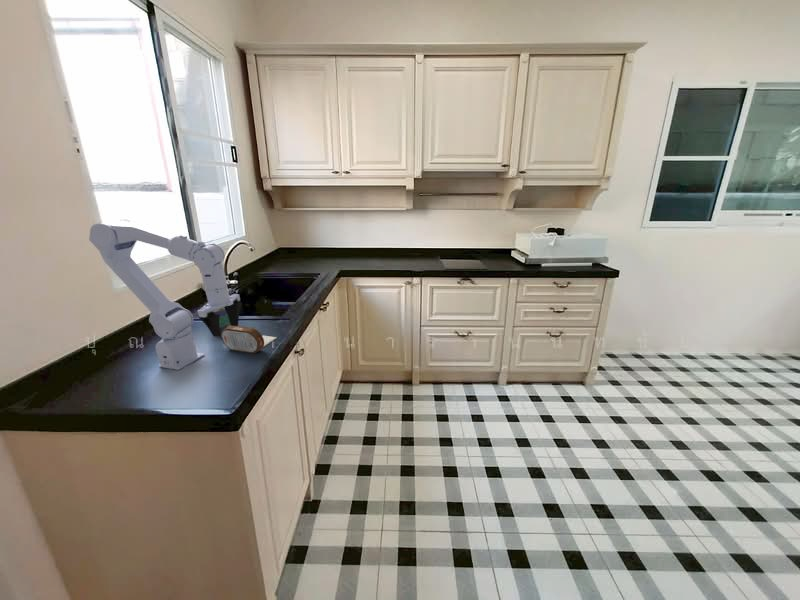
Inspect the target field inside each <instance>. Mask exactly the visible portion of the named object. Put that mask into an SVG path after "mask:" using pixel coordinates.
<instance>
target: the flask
mask: <svg viewBox="0 0 800 600" xmlns="http://www.w3.org/2000/svg"><path fill="white" fill-rule="evenodd" d="M213 313H215V315H220V319H219V327H220V332H222V330H223V329H225V328H227V327H228V326H229V325H231V324H230V321H229V318H228V315H227V312H226V310H225V308H224V307H223V308H221V309H219V310H217V311H215V312H213ZM238 326H240V325H239V324H238Z"/></svg>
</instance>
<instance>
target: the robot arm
mask: <svg viewBox="0 0 800 600" xmlns="http://www.w3.org/2000/svg"><path fill="white" fill-rule="evenodd" d="M88 237H89V238H88V239H89V241H90V243H91V244H92V245H93V246H94V247H95V248H96V249H97V250H98V251H99V253H100V255H101V258H102V260H103V261H104V263H105V264H106V265H107V266H108V267H109V268H110V269H111V270H112V271H113V273H114V274H115V275H116V276H117V277H118V278H119V280H121V281H122V282H123V284H125V286H126V287H127V288H128V289H129V290H130V291H131V292H132V293H133V295H135V297H137V299H139V301H140V302H141V303H142V304H143V305H144V307H146V308H147V309H148V311H150V314H149V317H148V322H149V323H150V324H151V326H152V327H153V331H154V332H155V334H156V335H157V336H159V337H160V338H161V339H160V341H158V342H157V343H156V344H155V346H154V348H155V352H156V355H157V359H158V361H159V365H158V367H159V368H165V369H171V370H174V371H175V370H177V371H178V370H181V369H183V368H184V367H186V366H188V365H190V364H192V363H193V362H195V361H197V360H199V359H201V358H203V357H204V356H205V353H202V352H198V351H197V349H196V344H195V341H194V336H193V332H192V324H193V323H194V315H193V314H192V312H191V311H190V310H189V309H186V308H185V307H183V306H182V305H181V304H180V303H179V302H176V301H171V300H169V299H168V297H166V295H165V294H164V293H163V292H162V291H161V290H160V288H159V287H158V286H157V285H156V284H155V283H154V281H152V279H151V278H150V277H149V276H148V275H147V274H146V273H145V272H144V271H143V270H142V269H141V267H140V266H139V265H138V264H137V263H136V262H135V261H134V259H133V258H132V257H131V255H132V251H133V249H134V247H135V245H136V244H137V242H142V243H144V244H149V245H151V246H155V247H159V248H163V249H166V250H167V251H168V253H169V254H170V255H171V256H175V257H177V258H180V259H183V260H185V261H189V262H193V263H194V265H195V266H196V267H197V268H198V269H199V272H200V274H201V278H202V282H203V286H204V291H205V295H206V299H207V303H206V304H205V305H203V307H201V308H200V309H198V310H197V314H198V315H197V316H198V319H199V320H200V321H201V322H202V323H204V324H205V325H206V327H207V328H208V331H210V333H211V336H212V337H216V338H219V337H221V332H220V327H219V319H220V315H215V313H213V312H215V311H217V310H219V309H221V308H223V307H224V308H225V310H226V312H227V315H228V318H229V321H230V324H231V326H238V325H239V318H240V312H241V309H242V307H243V302H242V301H241V297H240V293H239V294H237V293H236V294H235V293H233V294H231V295H230V291H229V289H228V283H227V279H226V274H225V268H224V264H223V261H224V260H225V256H226V255H225V252H224V250H223V249H222V247H220V246H219V245H217V244H215V243H208V244H205V242H204V241H196V240H193V239H190V238H188V235H185V234H179V235H178V234H177V235H174V236H173V237H172V236H169V235H166V234H165V233H162V232H159V231H157V230H154V229H151V228H149V227H146V226H144V225H142V224H140V222H136V221H131V220H128V219H120V220H117V221H109V222H104V223H103V222H98V223H94V224H92V226H91V227H90V229H89V236H88Z"/></svg>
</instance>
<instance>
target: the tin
mask: <svg viewBox="0 0 800 600" xmlns="http://www.w3.org/2000/svg"><path fill="white" fill-rule="evenodd" d="M262 335H263V334H262V333H261V332H260V331H259V330H258V329H257V328H254V327H250V326H242V325H239V326H231V325H229V326H228V327H227V328H225V329H223V330H222V332H221V335H220V337H221V340H222V343H223V344H224V346H225V347H226V348H227V349H229V350H231V351H234V352H241V353H242V352H243V353H248V354H256V353H257V352H259V351H260V350H262V349H263V348H264V347H265V346H264V339H263V336H264V335H263V336H262ZM263 346H264V347H263Z"/></svg>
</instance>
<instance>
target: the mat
mask: <svg viewBox="0 0 800 600" xmlns="http://www.w3.org/2000/svg"><path fill="white" fill-rule="evenodd" d="M261 335H262V336H263V339H264V346H263V348H264V347H265V346H267V345H268V344H271V343H272V342H273V341H275V340H276V339H277V337H276V336H268V335H263V334H261Z"/></svg>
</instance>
